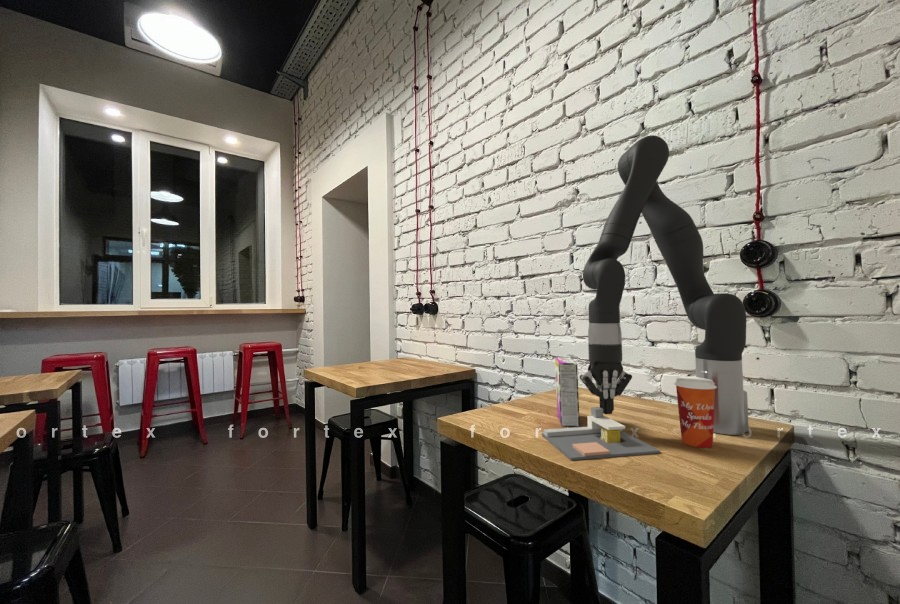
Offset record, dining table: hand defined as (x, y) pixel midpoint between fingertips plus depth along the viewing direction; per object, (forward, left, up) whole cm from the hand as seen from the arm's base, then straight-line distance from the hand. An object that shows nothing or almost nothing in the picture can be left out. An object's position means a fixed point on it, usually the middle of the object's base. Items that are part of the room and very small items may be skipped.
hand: (606, 413), depth 86 cm
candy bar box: (+5, -11, -5) cm, 13 cm away
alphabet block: (+2, +5, -5) cm, 7 cm away
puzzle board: (+6, +6, -5) cm, 10 cm away
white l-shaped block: (+2, +3, -3) cm, 5 cm away
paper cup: (-15, +10, -5) cm, 19 cm away
